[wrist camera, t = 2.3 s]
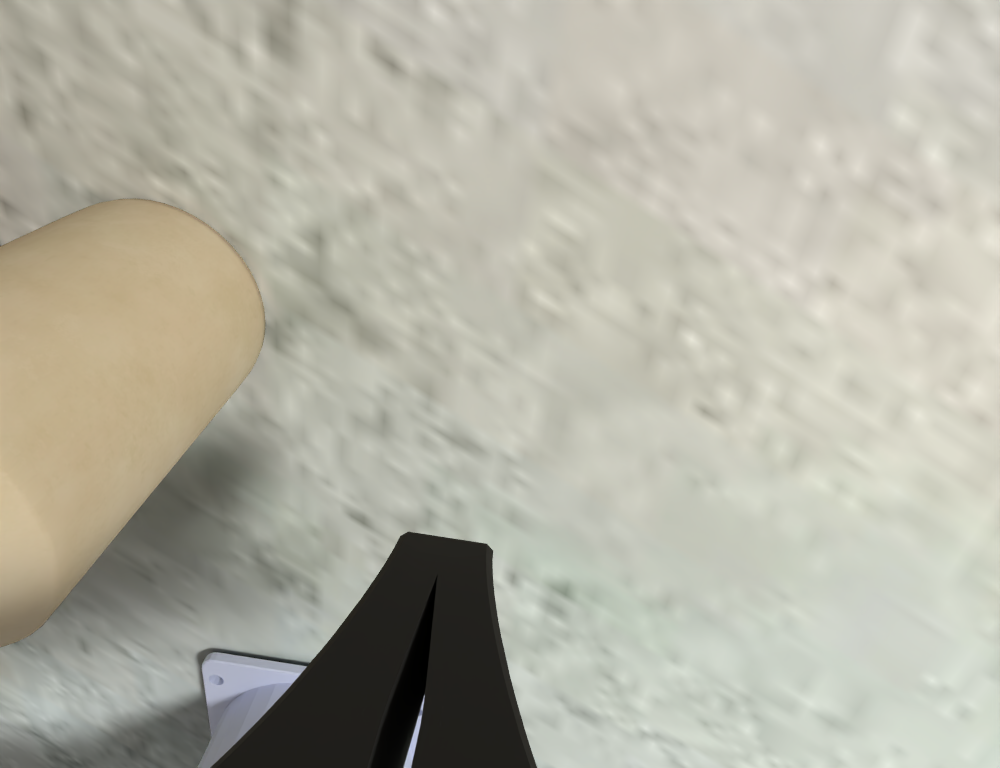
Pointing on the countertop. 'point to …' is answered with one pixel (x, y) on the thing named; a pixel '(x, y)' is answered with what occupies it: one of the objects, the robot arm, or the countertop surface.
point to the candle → (106, 381)
